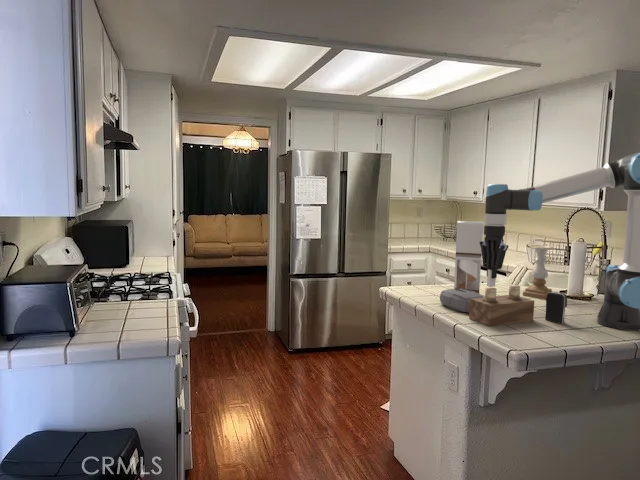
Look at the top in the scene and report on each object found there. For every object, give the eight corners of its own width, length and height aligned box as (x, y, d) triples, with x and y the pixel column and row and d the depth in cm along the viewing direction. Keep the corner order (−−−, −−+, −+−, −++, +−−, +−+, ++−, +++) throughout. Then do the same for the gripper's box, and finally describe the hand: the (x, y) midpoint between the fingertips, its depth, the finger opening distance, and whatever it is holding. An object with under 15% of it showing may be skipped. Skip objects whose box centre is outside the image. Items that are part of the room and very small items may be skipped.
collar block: (533, 320, 188) (534, 300, 187) (489, 326, 180) (490, 305, 179) (511, 313, 198) (513, 294, 197) (469, 318, 190) (470, 298, 189)
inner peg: (521, 302, 189) (522, 286, 189) (513, 303, 188) (514, 287, 187) (513, 300, 193) (514, 284, 192) (506, 301, 192) (507, 285, 191)
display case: (453, 296, 226) (457, 222, 222) (454, 292, 236) (458, 220, 232) (479, 299, 223) (483, 223, 219) (479, 294, 233) (483, 221, 229)
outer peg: (497, 305, 185) (498, 289, 184) (489, 306, 183) (490, 289, 182) (490, 302, 188) (491, 286, 188) (482, 303, 187) (483, 287, 186)
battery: (566, 322, 187) (569, 293, 185) (561, 324, 184) (564, 294, 183) (549, 318, 192) (551, 290, 191) (544, 319, 190) (546, 291, 188)
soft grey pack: (434, 304, 211) (467, 316, 194) (435, 286, 210) (468, 296, 193) (461, 301, 218) (494, 312, 200) (462, 283, 217) (496, 292, 199)
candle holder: (530, 292, 239) (534, 244, 236) (554, 295, 232) (557, 246, 229) (522, 295, 231) (525, 246, 229) (545, 299, 224) (549, 248, 221)
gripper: (515, 226, 178) (511, 289, 180) (490, 223, 190) (486, 282, 192) (499, 226, 175) (495, 290, 178) (475, 223, 187) (471, 283, 189)
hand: (490, 286), depth 185 cm, fingers closed
